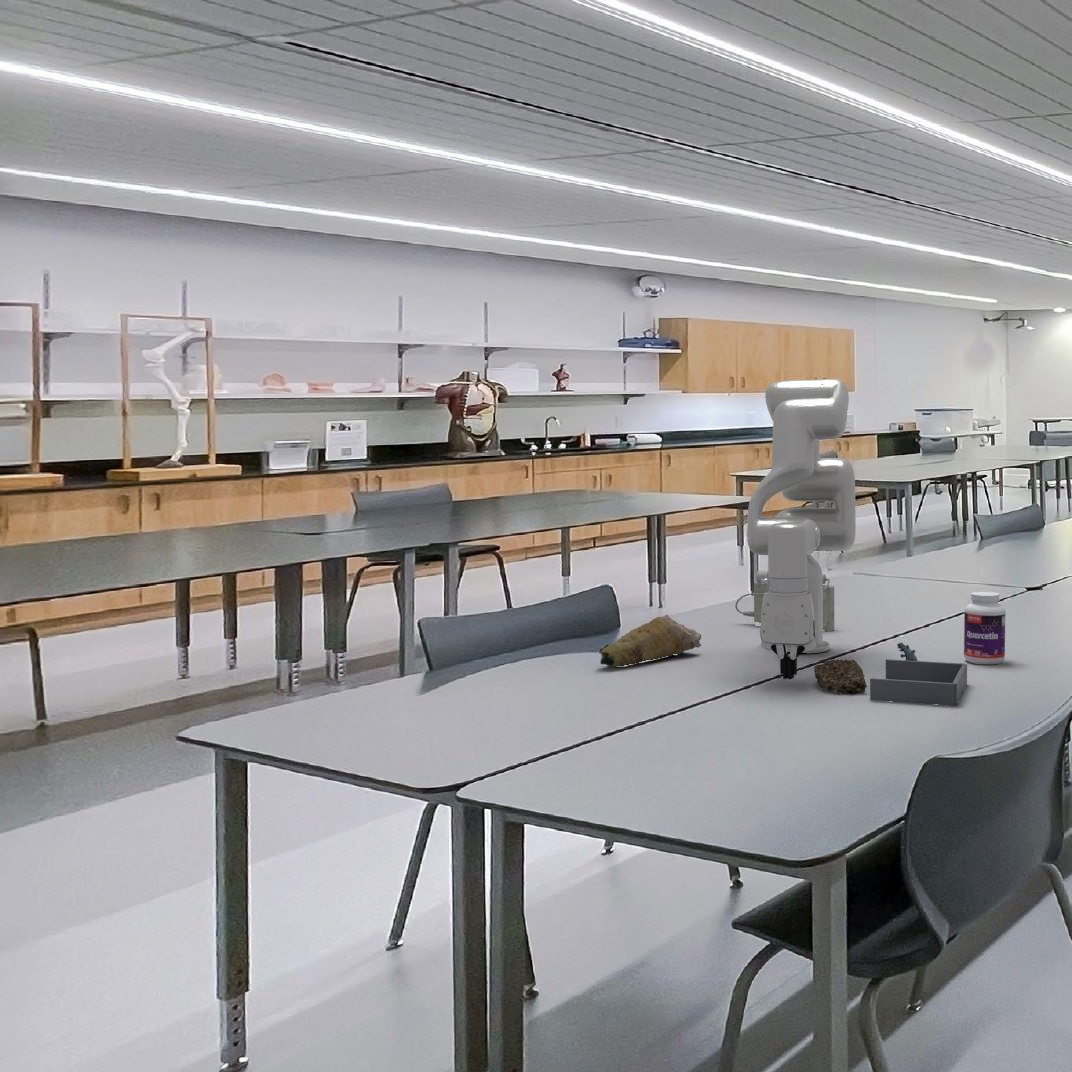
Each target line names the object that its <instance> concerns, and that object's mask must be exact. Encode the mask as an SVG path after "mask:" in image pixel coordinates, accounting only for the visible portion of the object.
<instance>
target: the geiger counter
mask: <svg viewBox="0 0 1072 1072" xmlns="http://www.w3.org/2000/svg"><path fill="white" fill-rule="evenodd" d="M767 577H768V569H759V570H757V573H756V580H757V581H756V582H754V583H753V593H751V592H750V593H746V594H743V595H742V596H739V598H738V599H737V600H736V602H735V607H734V608H735V610H736V611H737V612H738V613H739V614H742V615H743V616H744V617H745V616H747V617H751V618H752V617H753V623H754V622H759V623H761V611H762V602H763V596H764V593H765V592H768V590H767V587H765V586H761V580H762V579H767ZM826 582H827V583H826ZM830 583H831V580H830V579H829V578H827V575H826V574H823V573H822V588H823V630H826V631H831V632H833V631H832V630H834V631H835V585H830ZM825 584H826V585H825ZM748 596H753V610H754V611H749V610H748V611H742V610H740V609H739V608H738V604H739V602H740V601H741V600H742V599H743V598H745V597H748Z"/></svg>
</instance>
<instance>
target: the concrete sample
mask: <svg viewBox="0 0 1072 1072" xmlns="http://www.w3.org/2000/svg"><path fill="white" fill-rule="evenodd" d="M813 672H814V676H815V677H814V679H816V683H817V685H818V687H819V688H823V690H824V691H828V692H829V691H833V692H834V693H835V694H837V695H840V694H843V695H858V694H861V693H863V694H864V693H865V691H866V688H867V687H868V685H867V682H866V679H865V674H864V672H863V669H862V667H861V666H860V665H859V664H858V662H857V661H856V660H854V659H844V660H843V659H827V660H826V659H825V661H824V662H823V663H822V664H816V665H814V666H813Z"/></svg>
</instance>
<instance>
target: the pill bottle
mask: <svg viewBox="0 0 1072 1072" xmlns="http://www.w3.org/2000/svg"><path fill="white" fill-rule="evenodd" d="M970 595H971V596H970V600H971V603H968V604H967V605H966V606H965V607H964V617H963V618H964V622H963V623H964V625H963V627H964V628H963V631H964V633H963V636H964V637H963V658H964V659H965V661H967V662H969V663H970V664H975V665H988V666H989V665H998V664H1001V663H1002V662H1004V661H1005V655H1006V609H1005V607H1004V605H1002V604H1001V603H999V601H1000V593H998V592H996V591H995V592H993V591H975V592H974V591H973V592H971V593H970Z"/></svg>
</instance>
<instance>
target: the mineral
mask: <svg viewBox="0 0 1072 1072" xmlns="http://www.w3.org/2000/svg"><path fill="white" fill-rule="evenodd" d="M701 639H702V634H701V633H699V632H697V631H696V630H695V629H693V628H689V627H687V626H685V625H684V624H681V623H678V622H677V621H676V620H674V619H672V618H671V616H669V615H668V614H665V615H663V616H657V617H656V616H655V618H653V619H652V620H650V621H649V622H647V623H643V624H641V626H639V627H636V628H634V629H631V630H629V632H627V633H625V634H624V635H622V636H621V637H620V638H618V639H617V640H616V641H614V642H612V643H610V644H606V645H605V646H604V647H603V648H601V649H599V652H598V654H600V655H601V657H600V661H599V662H600V665H606V666H608V667H612V668H614V667H613V666H624V665H629V664H634V665H636V664H635V663H637V664H639V662H642V661H646V660H653V659H658V658H662V657H666V656H669V657H671V655H673V654H679V655H680V654H681V653H682V654H683V653H684V652H687V651H689V650H693V649H694V648H700V647H701V646H702V644H701V643H700V642H701V641H700V640H701Z"/></svg>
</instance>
